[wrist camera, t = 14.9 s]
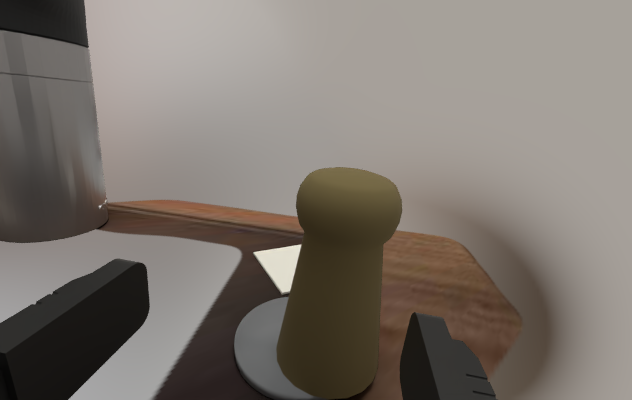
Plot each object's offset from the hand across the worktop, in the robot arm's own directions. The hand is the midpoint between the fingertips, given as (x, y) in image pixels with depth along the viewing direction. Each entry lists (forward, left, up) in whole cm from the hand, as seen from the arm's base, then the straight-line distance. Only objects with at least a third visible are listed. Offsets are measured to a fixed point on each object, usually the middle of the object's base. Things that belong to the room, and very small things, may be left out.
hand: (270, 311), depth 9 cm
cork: (+6, +4, -8) cm, 11 cm away
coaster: (+5, +6, -9) cm, 12 cm away
